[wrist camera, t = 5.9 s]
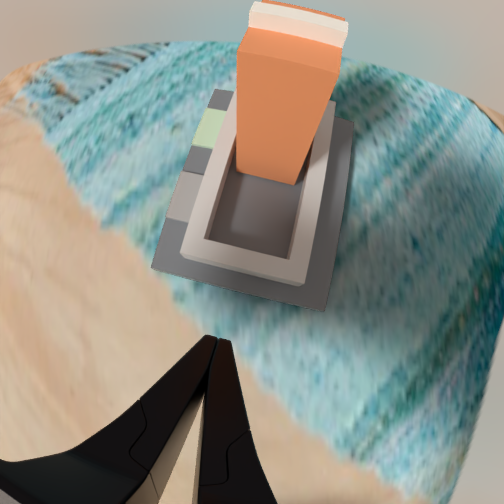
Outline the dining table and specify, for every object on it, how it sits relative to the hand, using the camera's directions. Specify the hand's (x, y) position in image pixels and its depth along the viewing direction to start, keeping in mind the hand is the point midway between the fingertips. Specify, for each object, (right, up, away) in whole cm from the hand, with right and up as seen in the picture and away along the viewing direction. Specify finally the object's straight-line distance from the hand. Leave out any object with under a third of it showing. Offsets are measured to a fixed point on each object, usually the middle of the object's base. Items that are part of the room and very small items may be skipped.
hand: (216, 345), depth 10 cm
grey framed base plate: (+2, +7, +9) cm, 12 cm away
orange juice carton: (+2, +9, +9) cm, 13 cm away
